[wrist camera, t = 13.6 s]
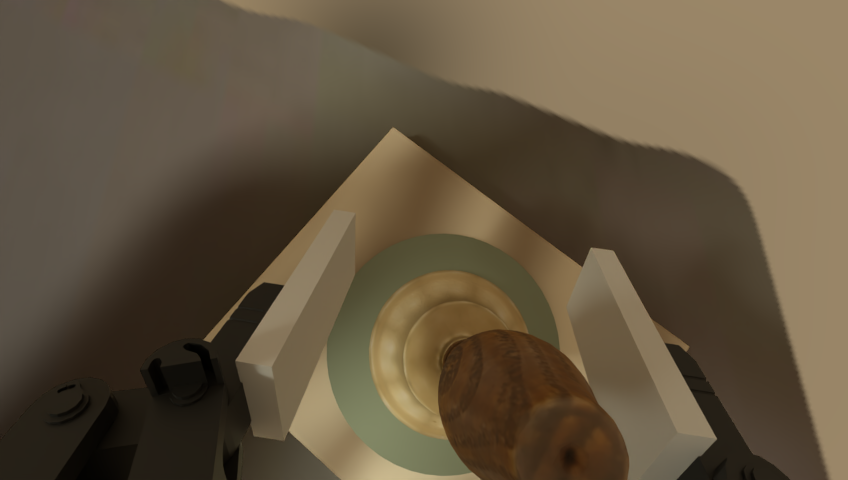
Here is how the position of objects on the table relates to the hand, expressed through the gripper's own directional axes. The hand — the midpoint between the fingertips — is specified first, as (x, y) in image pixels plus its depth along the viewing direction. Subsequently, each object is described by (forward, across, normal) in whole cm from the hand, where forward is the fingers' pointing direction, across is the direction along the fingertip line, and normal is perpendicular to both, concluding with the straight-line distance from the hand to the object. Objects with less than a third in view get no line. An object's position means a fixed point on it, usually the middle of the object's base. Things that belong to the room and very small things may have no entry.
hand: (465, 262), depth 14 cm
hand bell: (+3, 0, -8) cm, 8 cm away
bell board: (+4, 0, -8) cm, 9 cm away
